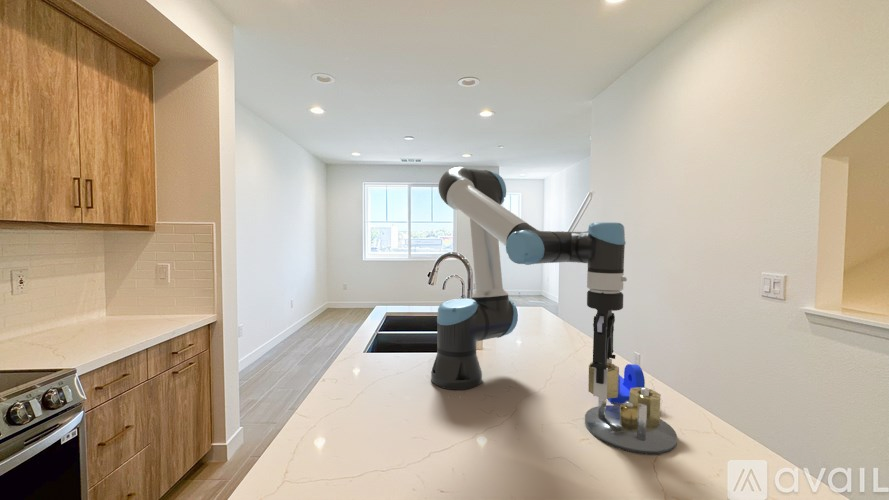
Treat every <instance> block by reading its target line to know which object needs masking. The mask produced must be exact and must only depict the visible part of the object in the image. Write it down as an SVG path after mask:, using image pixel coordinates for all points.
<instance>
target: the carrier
mask: <svg viewBox="0 0 889 500" xmlns="http://www.w3.org/2000/svg"><path fill="white" fill-rule="evenodd" d="M597 403H598V404H597V405H598V406H597V405H596V406H594V407H591V408H590V409H588V410H587V411H586V412H585V415H584V424H585V427H586V429H587V431H588V432H590V434H591V435H593V436H594V437H595V438H597V439H598V440H599V441H602V442H603V443H605V444H607V445H608V446H611V447H613V448H615V449H619V450H621V451H626V452H627V453H628V452H629V453H633V454H637V455H638V454H639V455H646V456H649V455H650V456H652V455H653V456H655V455H656V456H657V455H658V456H659V455H665V454H668V453H671V452H672V451H674V450H675V449H676V447H677V443H678V436H677V435H678V434H677V432H676V431H675V429H674V428H673V427H672V426H671V425H670V424H668V423H667V422H666V421H665V420H663V419H661V418H660V417H661V394H660V393H659V392H657V391H655V390H653V389H652V388H651V389H649V388H648V387H646V386H645V387H642V388H641V387H636V388H631V389H630V397H629V401H625V403H619V405H613V404H610V405H608V404H607V399H606V398H601V397H598V402H597Z"/></svg>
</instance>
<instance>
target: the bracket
mask: <svg viewBox="0 0 889 500" xmlns="http://www.w3.org/2000/svg"><path fill="white" fill-rule="evenodd" d="M612 364H613V365H615V363H612ZM645 381H646V380H645V374H644V372H643V369H642V368H641V366H640V365H639V364H636V363H635V364H630V363H629V364H628V363H627V364H626V365H625V367H624V370H623V376H622V375H620V374H619V394H618V397H617V398H609V399H607V401H608V402H609V403H610V404H622V403H625V401H629V397H630V389H631V388H636V387H641V388H642V387H645V388H646V385H645V384H646V382H645Z"/></svg>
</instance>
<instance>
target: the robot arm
mask: <svg viewBox="0 0 889 500" xmlns="http://www.w3.org/2000/svg"><path fill="white" fill-rule="evenodd" d="M438 194H439V196H440V198H441V200H442V201H443V202H444V203H445V204H446V205H447V206H449V208H451V209H453V210H456V211H457V210H458V211H461V212H462V213H463V214H464V215H466V216H467V217H468V218H469V222H470V234H471V235H470V236H471V245H472V258H473V259H472V260H473V270H474V283H475V291H474V293H473V294H472V295H471V298H464V297H463V298H454V299H449V300H447V301H443V302H442V303H441V304H440V305H439V306H438V308H437V317H436V322H437V329H436V330H437V334H436V335H437V336H436V337H437V338H436V339H437V340H436V341H437V342H436V343H437V347H436V349H437V351H436V356H435V359H434V362H433V365H432V369H431V373H430V374H431V375H430V377H431V378H430V380H431V382H432V383H433V384H434V386H435V385H436V386H437V387H439V388H443V389H447V390H453V391H454V390H455V391H456V390H457V391H459V390H461V391H462V390H468V389H472V388H475V387H478V386H479V385H481V383H482V381H483V372H482V368H481V365H480V361H479V358H478V355H477V342H481V341H484V340H491V339H496V338H498V339H499V338H502V337H505V336H507V335H510V334H511V333H513V331H514V330H515V328H516V327H517V323H518V321H519V314H518V309H517V308H518V307H517V306H516V305H515V303H514V301H512V300H511V299H509V298H510V297H509V292H507V291H506V290H505V289H504V287H503V277H502V275H503V274H502V267H501V253H500V252H501V251H500V243H501V244H502V245H504V246H505V251H506V254H507V255H508V259H510V261H511V262H513V263H515V264H518V265H526V266H531V265H538V264H551V263H552V264H553V263H557V264H558V263H578V264H579V263H582V264H587V271H586V272H587V273H586V277H587V278H586V279H587V280H586V287H587V289H588V291H587V292H586V306H587V307H588V308H590V309H592V310H593V309H594V310H596V314H595V315H594V316H593V323H592V326H593V341H592V342H593V344H592V345H593V346H592V362H593V363H592V364H590V363H589V365H590V367H594V390H593V394H592V395H593V397H598V398H599V397H601V398H606V400H608V399H607V380H608V368H607V363H611V364H613V360H616V354H613V353H614V331H615V329H614V328H615V326H614V324H615V321H616V316H615V313H614V312H615V311H621V310H622V309H624V293H623V292H621V291H624V282H627V280H628V279H627V277H626V276H624V273H625V272H624V271H625V270H624V269H625V268H624V267H625V247H626V246H625V245H626V243H627V242H626V236H625V235H626V234H625V226H624V224H622V223H620V222H592V223H590V224H589V225H588V228H587V231H562V230H561V231H550V230H548V231H547V230H546V231H543V230H539V229H537V228H535V227H534V226H532V225H530V224H529V223H527V222H526V221H525V220H523V219H522V218H520V217H519V216H517V215H516V214H514V213H513V212H511V211H510V210H508V209H507V208H506V207H504V206H502V204H503V203H504V201H505V198H506V197H507V196H506V195H507V186H506V182H505V180H504V179H503V177H502V176H501V175H500V174H499V173H498V172H493V171H491V170H486V169H478V168H468V167H463V166H458V167H457V166H456V167H452V168H450V169H448V170H447V171H445V172H444V173H443V174H442V176H441V177H440V179H439V182H438Z"/></svg>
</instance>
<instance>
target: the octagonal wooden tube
mask: <svg viewBox="0 0 889 500" xmlns="http://www.w3.org/2000/svg"><path fill="white" fill-rule="evenodd" d="M592 363H593V361H591V362H590V363H589V364H588V392H589V393H591V394H592V395H593V390H594V367H590V364H592ZM613 364H614V363H612V364H611V363H607V368H608V380H607V399H606V400H608V399H609V398H617V397H618V394H619V375H620V367H619V366H618V365H616V364H614V365H613Z"/></svg>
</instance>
